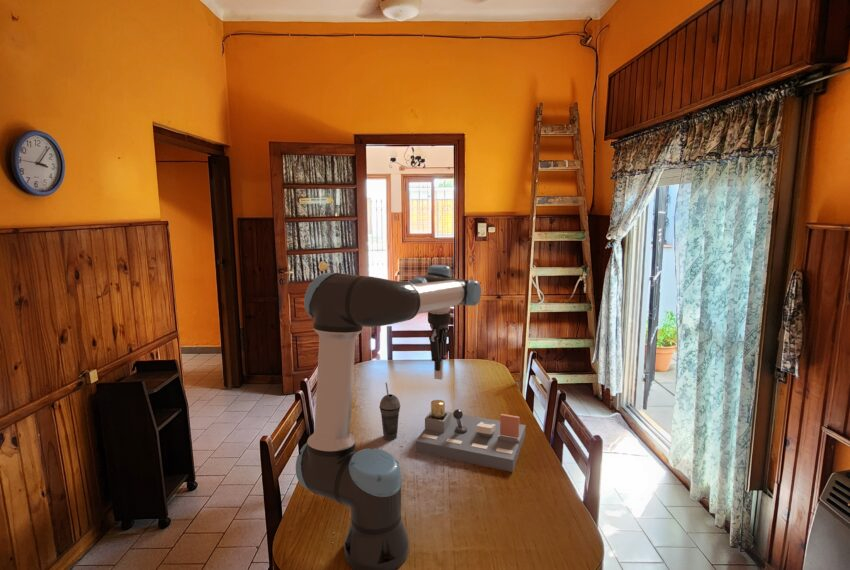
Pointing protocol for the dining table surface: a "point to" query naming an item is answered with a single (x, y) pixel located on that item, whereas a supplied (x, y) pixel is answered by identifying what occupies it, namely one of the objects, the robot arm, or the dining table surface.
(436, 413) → the push button
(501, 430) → the red square plate
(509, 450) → the console
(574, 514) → the dining table surface
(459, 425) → the toggle lever
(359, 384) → the dining table surface
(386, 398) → the beverage cup
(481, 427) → the block
